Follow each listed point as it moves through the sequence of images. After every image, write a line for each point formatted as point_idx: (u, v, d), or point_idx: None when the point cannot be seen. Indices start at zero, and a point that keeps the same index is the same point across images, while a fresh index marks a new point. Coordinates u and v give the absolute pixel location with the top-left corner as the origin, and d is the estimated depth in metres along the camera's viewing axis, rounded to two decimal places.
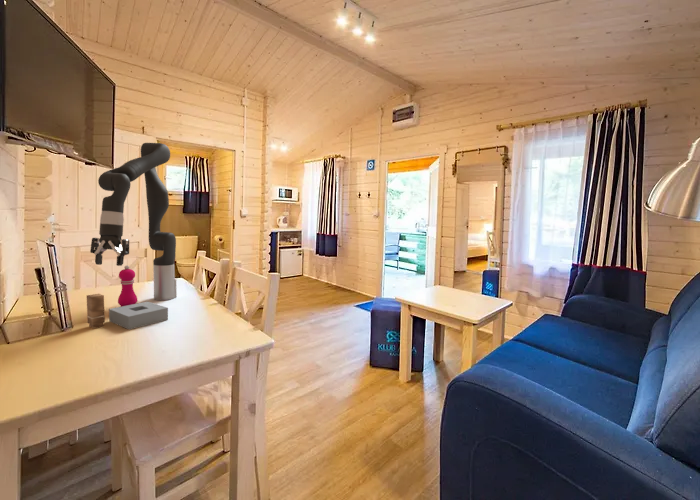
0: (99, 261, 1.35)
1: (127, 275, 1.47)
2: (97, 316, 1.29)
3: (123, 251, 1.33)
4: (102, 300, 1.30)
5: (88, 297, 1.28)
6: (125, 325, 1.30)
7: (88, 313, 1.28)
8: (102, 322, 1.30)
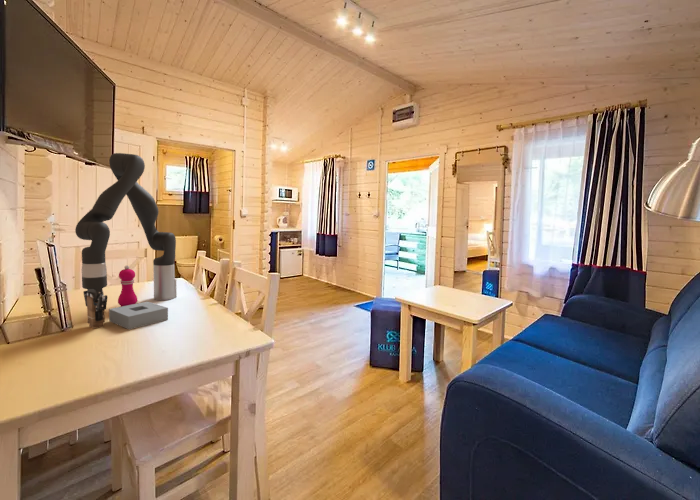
0: None
1: (127, 275, 1.47)
2: None
3: (97, 307, 1.26)
4: None
5: (88, 297, 1.28)
6: (125, 325, 1.30)
7: (88, 313, 1.29)
8: (102, 322, 1.30)
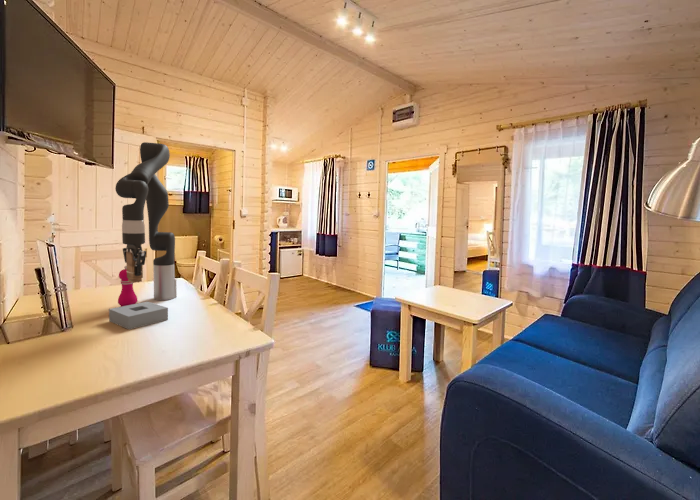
0: None
1: None
2: None
3: (137, 262, 1.32)
4: None
5: (128, 253, 1.34)
6: (125, 325, 1.30)
7: (128, 268, 1.35)
8: (140, 277, 1.37)
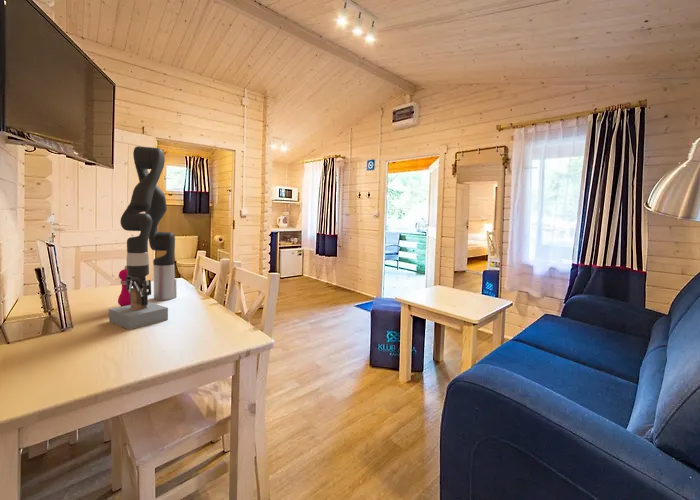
0: None
1: None
2: (140, 308, 1.37)
3: (144, 292, 1.33)
4: None
5: (132, 290, 1.36)
6: (125, 325, 1.30)
7: (132, 305, 1.37)
8: None
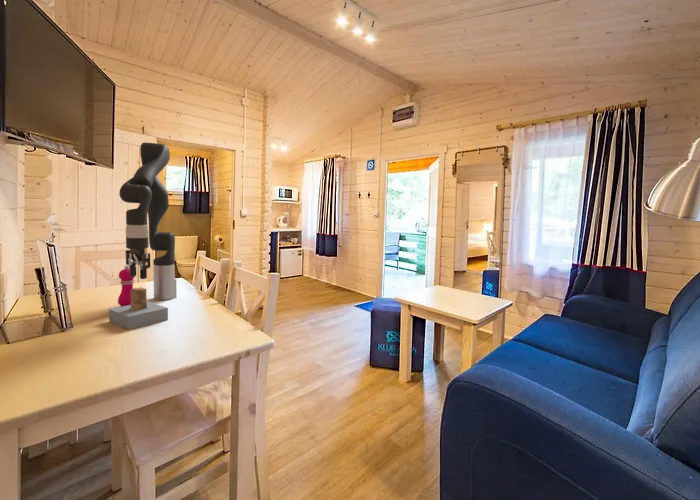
0: (133, 272, 1.38)
1: (127, 275, 1.47)
2: (140, 308, 1.37)
3: (143, 265, 1.32)
4: (145, 293, 1.38)
5: (132, 290, 1.36)
6: (125, 325, 1.30)
7: (132, 305, 1.37)
8: None
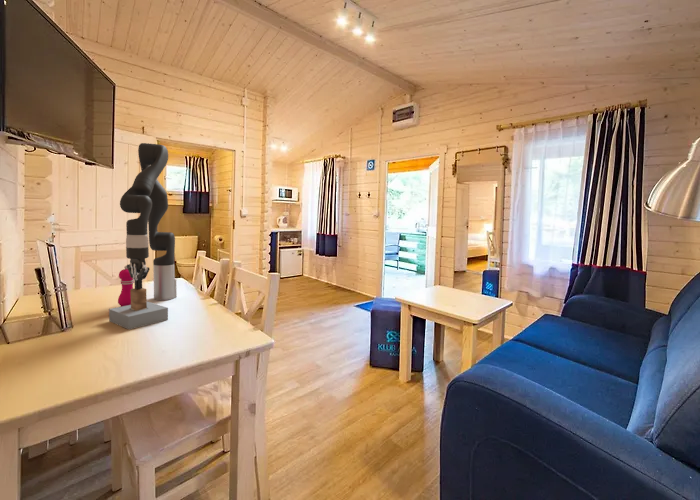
0: None
1: (127, 275, 1.47)
2: (140, 308, 1.37)
3: (138, 276, 1.34)
4: (145, 293, 1.38)
5: (132, 290, 1.36)
6: (125, 325, 1.30)
7: (132, 305, 1.37)
8: None
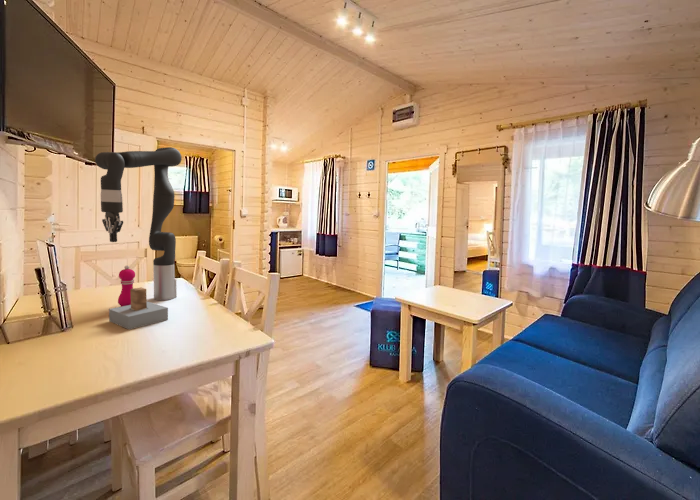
0: None
1: (127, 275, 1.47)
2: (140, 308, 1.37)
3: (113, 229, 1.43)
4: (145, 293, 1.38)
5: (132, 290, 1.36)
6: (125, 325, 1.30)
7: (132, 305, 1.37)
8: None
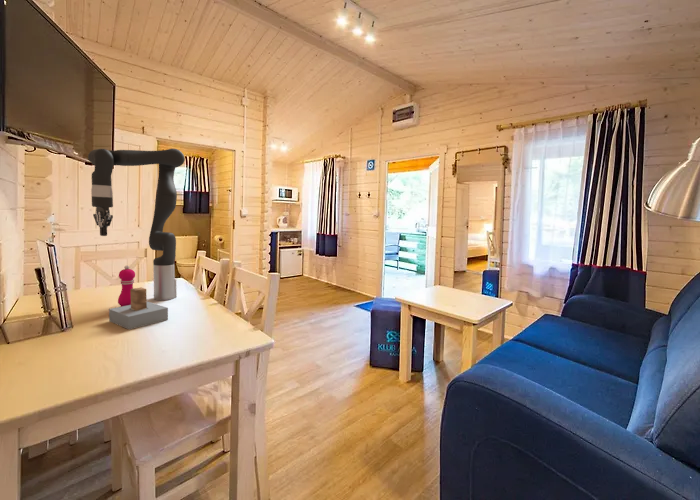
0: None
1: (127, 275, 1.47)
2: (140, 308, 1.37)
3: (102, 223, 1.48)
4: (145, 293, 1.38)
5: (132, 290, 1.36)
6: (125, 325, 1.30)
7: (132, 305, 1.37)
8: None
